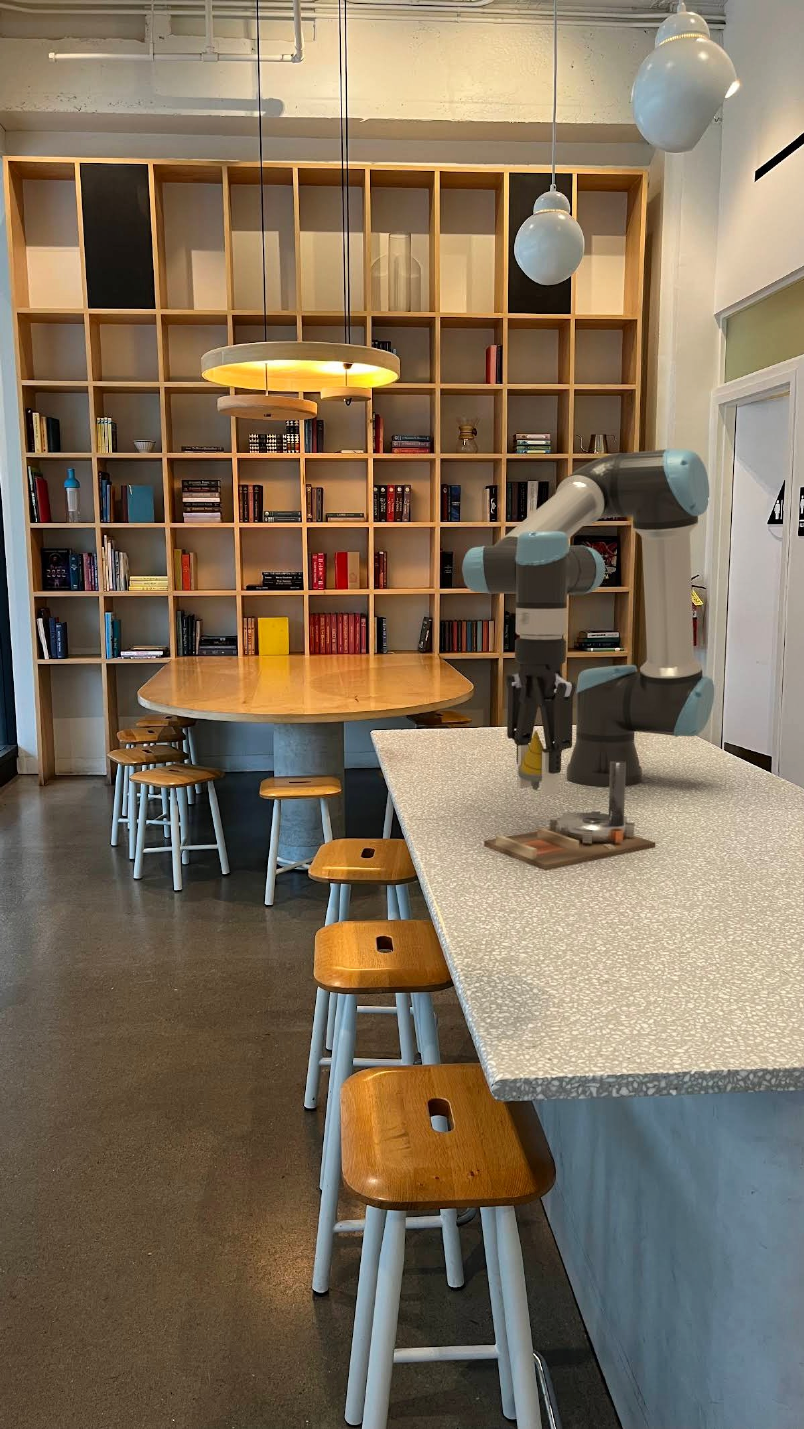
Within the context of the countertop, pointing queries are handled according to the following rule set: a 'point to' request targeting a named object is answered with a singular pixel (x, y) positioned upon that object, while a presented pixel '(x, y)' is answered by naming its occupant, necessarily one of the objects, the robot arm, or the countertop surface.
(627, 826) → the sprocket
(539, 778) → the drill bit
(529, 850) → the brown wooden board
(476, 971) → the countertop surface
